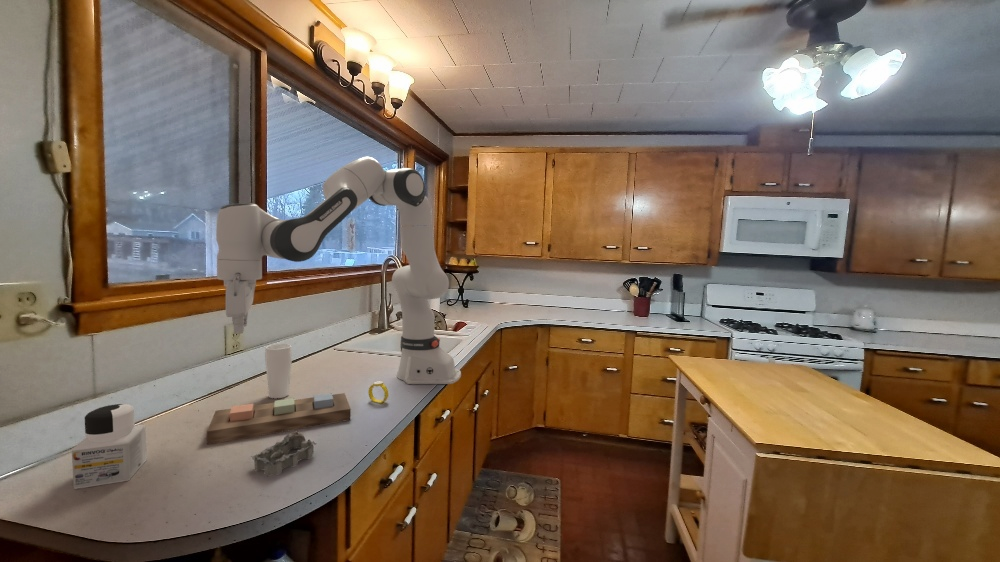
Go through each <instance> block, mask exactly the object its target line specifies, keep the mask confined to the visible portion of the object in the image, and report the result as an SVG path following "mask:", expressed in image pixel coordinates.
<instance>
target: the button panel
mask: <svg viewBox="0 0 1000 562" xmlns="http://www.w3.org/2000/svg"><path fill="white" fill-rule="evenodd" d="M332 396H333V406H332V407H325V408H318V409H314V396H313V397H307V398H306V397H305V398H301V399H299V398H298V399H294V410H295V412H292V413H285V414H279V415H274V404H275V402H271V403H263V404H262V403H261V404H257V405H256V404H253V405H254V416H253V418H252V419H245V420H239V421H232V422H230V411H231V409H232V408H226V409H220V410H215V412H214V414H213V416H212V419H211V421H210V424H209V426H208V428H207V430H206V445H210V444H212V445H214V444H217V443H222V442H229V441H230V442H231V441H235V440H239V439H240V440H241V439H246V438H253V437H259V436H265V435H270V434H271V435H272V434H276V433H277V434H278V433H281V432H282V431H283V432H288V430H289V431H294V430H299V429H300V428H301V429H305V428H312V427H317V426H323V425H329V424H335V423H340V422H347V421H351V416H352V415H351V413H352V412H351V410H352V409H351V407H350V404H349V401H348V399H347V395H346V393H345V392H342V393H334V394H332Z"/></svg>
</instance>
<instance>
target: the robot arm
mask: <svg viewBox="0 0 1000 562" xmlns="http://www.w3.org/2000/svg"><path fill="white" fill-rule="evenodd" d="M322 191H323V192H322V193H323V196H324V198H325V199H324V200H323V201H322V202H321V203H319V204H318V205H317V206H316V207H315V208H314V209H312V210H310V212H308V214H306V215H304V216H301V217H297V218H291V219H281V218H278V217H275V216H274V215H272V214H270V213H268V212H266V211H265V210H264V209H262V208H261V207H260V206H259V205H258V204H256V203H253V202H244V203H243V202H242V203H229V204H226V205H222V207H220V209H219V210H218V212H217V219H216V228H215V229H216V234H215V235H216V236H215V238H216V243H217V246H218V250H217V251H218V252H217V255H216V279H217V280H219V281H223V286H224V288H225V287H226V288H225V315H226V317H227V318H231V321H232V326H233V333H234V334H236V335H238V334H244V331H245V327H247V325H248V315H249V314H248V313H249V310H251V309H250V308H251V307H252V305H253V304H254V299H255V289H256V286H257V280H262V279H263V257H264V256H268V257H270V258H274V259H280V260H287V261H290V262H294V263H295V262H296V263H299V262H300V263H301V262H304V261H307V260H310V259H311V258H313V257H314V256H315V254H316V253H317V252H318V250H319V249H320V247H321V245H322V243H323V241H324V240H325V238H326V236H327V235H328V234H329V233H330V232H331V231H332V230H333V229H335V228H336V227H337V226H338V225H339V224H340V223H341V222H342V221H343V220H344V219H345V218H347V217H348V216H349V215H350V213H352V212H353V211H354V210H355V209H357V208H358V207H360V206H361V205H362V204H363V203H365V202H366V201H367V200H370V201H371V202H372V203H373V204H375V205H377V206H383V207H385V206H396V207H397V209H398V211H399V212H398V213H399V232H400V233H399V234H400V248H401V251H402V252H403V253H404V255H405V256H406V259H407V262H408V265H404V266H401V267H398V268H397V269H396V270H395V271H394V272H393V274H392V277H391V283H392V286H393V288H394V289H395V291H396V293H397V297H398V299H399V300H398V301H399V305H400V309H401V315H402V316H401V317H402V319H401V320H402V325H401V326H402V327H401V328H402V334H401V337H400V346H399V347H400V352H401V353H400V360H399V365H398V370H397V373H396V377H397V378H398V379H399V380H401V381H403V382H404V383H405V384H407V385H453V384H454V383H457V382H458V381H459V380H460V379H461V377H462V371H461V370H460V369H458V368H456V365H455V360H454V358H453V356H451V354H449V353H448V352H446V351H445V350H444V349H443V348H442V347H440V344H441V343H440V342H441V338H440V337H439V338H438V337H437V336H436V335H435V320H436V319H435V313H434V311H433V309H432V308H431V307H430V304H429V300H436V299H437V300H438V299H441V298H443V297H444V296H445V294H447V292H448V290H449V288H450V287H449V286H450V279H449V277H448V276H447V273H445V272H444V270H443V269H442V267H441V265H440V263H439V260H438V256H437V253H436V249H435V242H434V240H435V239H434V226H433V225H434V224H433V223H434V222H433V215H432V208H431V204H430V201H429V198H428V197H427V196H426V185H425V181H424V178H423V177H422V175H421V173H420V172H419V171H418V170H417V169H414V168H410V167H409V168H408V167H403V168H393V169H388V170H385V169H384V168H383V166H382V164H381V163H380V162H379V161H378V160H377V159H375V158H374V157H370V156H363V157H360V158H357V159H355V160H353V161H350V162H349V163H346V164H344V165H343V166H341V167H340V168H339V169H337V170H336V171H334V172H333V173H332V174H331V175H330V176H329V177H328V178H327V179H325V181H324V182H323V184H322Z"/></svg>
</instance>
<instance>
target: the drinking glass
mask: <svg viewBox="0 0 1000 562" xmlns="http://www.w3.org/2000/svg"><path fill="white" fill-rule="evenodd" d="M292 347H293V346H292V345H291V344H290V343H275V344H269V345H267V346H266V347H265V352H264V353H265V354H264V355H265V356H264V358H265V359H264V360H265V369H266V379H267V387H268V388H267V389H268V397H269V398H270V399H273V398H274V399H277V398H278V399H284V398H285V397H288V396H289V394H290V386H291V385H290V384H291V372H292V362H293V361H292V360H293V348H292Z"/></svg>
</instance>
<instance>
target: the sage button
mask: <svg viewBox="0 0 1000 562" xmlns="http://www.w3.org/2000/svg"><path fill="white" fill-rule="evenodd" d="M294 400H295V398H286V399H284V398H283V399H279V400H274V403H275V404H274V415H279V414H285V413H292V412H295V410H294Z"/></svg>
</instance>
